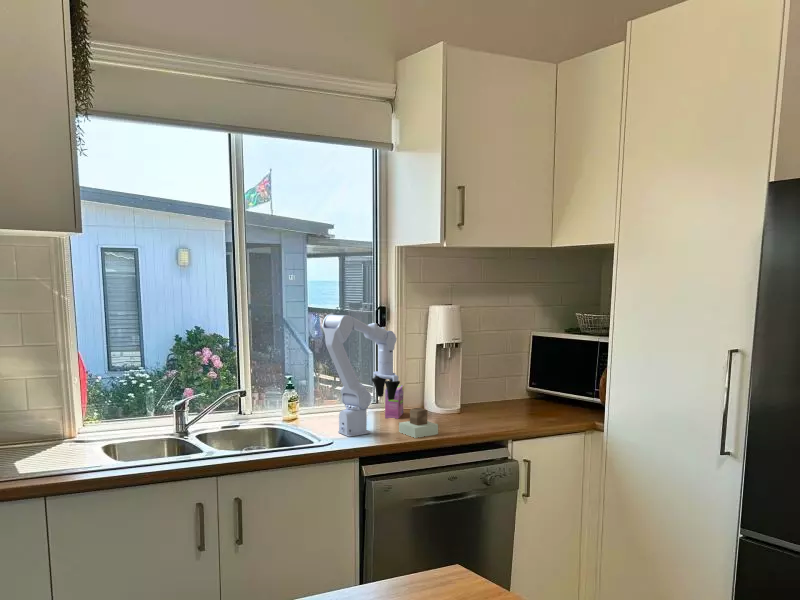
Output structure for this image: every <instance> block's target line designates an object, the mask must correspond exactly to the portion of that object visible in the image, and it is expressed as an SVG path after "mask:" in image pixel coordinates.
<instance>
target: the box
mask: <svg viewBox="0 0 800 600" xmlns="http://www.w3.org/2000/svg"><path fill="white" fill-rule="evenodd" d="M404 388H405V387H404V385H400V384H399V385H398V387H397V390H396V393H395V397H394V399H393V400H388V393H387V387H386V388H384V419H388V418H395V419H394V420H399V419H400V418H401V417H402V416H403V414H404Z"/></svg>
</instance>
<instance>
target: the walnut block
mask: <svg viewBox="0 0 800 600" xmlns="http://www.w3.org/2000/svg"><path fill="white" fill-rule="evenodd" d="M409 421H410V423H411V424H414V425H424V424H427V421H428V409H425V408H422V407H417V408H416V407H415V408H410V409H409Z"/></svg>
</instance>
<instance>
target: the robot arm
mask: <svg viewBox="0 0 800 600" xmlns="http://www.w3.org/2000/svg"><path fill="white" fill-rule="evenodd" d="M321 328H322V331H323V333H324V337H325V339H324V341H325V346H326V348H327V351H328V353H329V356H330V359H331V360H332V361H331V362H332V363H333V365H334V367H335V370H336V372H337V375H338V377H339V380H340V382H341V385H342V387H341V389H340V390H339V392H340V394H341V401H342V403H343V405H344V408H345V409H342V410H340V412H339V415H338V431H337V432H338V433H339V434H341V435H344V436H347V437H354V436H355V437H356V436H361V435H366V434H369V435H370V434H372V431H370V430H367V429H368V426H367V423H368V421H367V415H368V414H367V413H368V412H367V411H368V410H367V409H368V408H369V406H370V405H371V403H372V395H371V392H370V391H368V390H367V388H366V386H365V385H364V384H362V383H361V382H360V381H359V379H358V377H357V375H356V372H355V370H354V367H353V366H352V363H351V360H350V358H349V355H348V353H347V351H346V349H345V346H344V343H345V342H346V341H347V339H348V338H349V336H350V334H351V333H352V331H357V332H360V333H362V334H363V336H364V338H365V339H367V340H370V341H372V342H374V343H375V344H376V345H377V370H376V371H373V372H372V373H373V375H372V376H373V378H371V381H372V383H373V385H374V388H375V391H376V397H377V398H379V397H384V395H385V386H386V388H387V393H388V400H393V399H394V397H395V393H396V390H397V387H398V385H400V383H401V381H400V380H399V375H397V374H396V372H394V351H395V345H396V343H397V339H398V338H397V337H396V334H395V333H394V331H392V330H387V329H386V327H383V326H382V327H380V326H379V325H378V323H376V322H372V323H369V324H366V322H363V321H361V320H359V319H358V318H355V317H354V316H353V315H352V316H351V315H348V314H345V315H343V314H331V313H329V314H327V315H326V316H325V317H324V318H323V322H322V325H321Z"/></svg>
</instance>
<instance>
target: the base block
mask: <svg viewBox="0 0 800 600" xmlns="http://www.w3.org/2000/svg"><path fill="white" fill-rule="evenodd" d="M399 432H400V434H402V433H403V435H405V434H406V435H405V436H408V435H409V436H408V437H410V436H411V438H413V437H414V439H419V438H423V437H424V436H425V437H429V436H435V435H439V424H438V423H435V422H432V421H428V420H427V424H424V425H414V424H411V423H410V420H409V421H408V420H407V421H402V422H398V433H399ZM418 437H419V438H418Z"/></svg>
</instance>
